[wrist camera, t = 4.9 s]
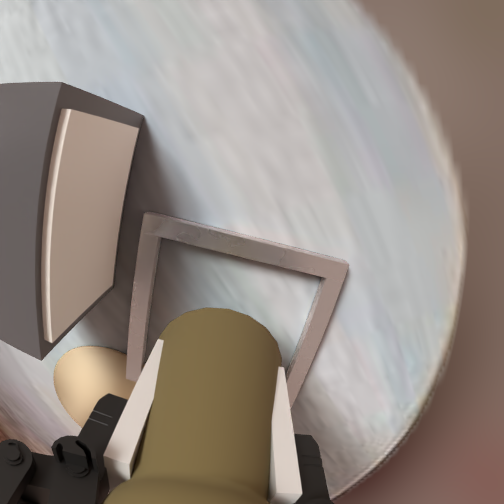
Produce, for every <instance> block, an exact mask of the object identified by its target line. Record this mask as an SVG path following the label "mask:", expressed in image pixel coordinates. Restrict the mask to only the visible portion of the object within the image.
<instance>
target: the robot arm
mask: <svg viewBox="0 0 504 504" xmlns="http://www.w3.org/2000/svg"><path fill="white" fill-rule="evenodd" d="M163 342H164V340H160V339H158V340H157V342H156V344H155V346H154V348H153V350H152V352H151V354H150V356H149V358H148V360H147V362H146V364H145V366H144V368H143V371H142V373H141V375H140V377H139V379H138V381H137V383H136V385H135V387H134V389H133V391H132V393H131V396H130V398H129V400H128V399H125V398H122V397H119V396H116V395H113V394H110V393H108V394H106V395H105V396H103V397H102V398H100V399H99V400H98V402H97V403H96V405H95V407H94V409H93V411H92V412H91V414H90V416H89V418H88V419H87V421H86V423H85V425H84V426H83V428H82V430H81V432H80V434H79V435H78V437H77V436H64V437H61V438H59V439H58V440H56V441H55V442H54V444H53V445H52V447H51V448H52V451H53V454H54V456H49V455H43V454H38V453H33V452H31V451H30V450H29V448H28V447H27V446H26V445H25V444H24V443H22V442H20V441H18V440H11V439H8V440H5V441H2V442H1V443H0V504H101V503H102V502H103V500H104V499H105V498H106V497H107V495H108V492H111V490H113V489H114V488H116V487H117V486H118V485H120V484H121V483H123V482H125V481H127V480H129V479H131V476H132V470H133V467H134V463H135V460H136V456H137V452H138V449H139V445H140V442H141V438H142V435H143V432H144V428H145V425H146V422H147V418H148V415H149V412H150V408H151V405H152V402H153V399H154V392H155V386H156V380H157V374H158V369H159V363H160V358H161V352H162V347H163ZM267 501H268V502H269V503H270V504H334V503H333V502H331V500H330V497H329V494H328V489H327V484H326V479H325V474H324V470H323V467H322V460H321V458H320V451H319V446H318V444H317V443H316V441H315V440H314V439H313V437H312V436H311V435H301V434H294V431H293V424H292V418H291V411H290V404H289V397H288V391H287V384H286V378H285V371H284V367H278V375H277V383H276V391H275V399H274V406H273V414H272V421H271V453H270V480H269V490H268V498H267Z"/></svg>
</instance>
